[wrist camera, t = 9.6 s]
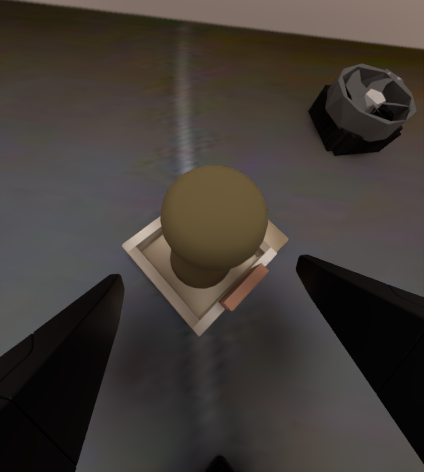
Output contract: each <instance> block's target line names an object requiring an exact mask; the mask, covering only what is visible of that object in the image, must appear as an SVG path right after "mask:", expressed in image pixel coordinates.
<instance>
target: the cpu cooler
mask: <svg viewBox="0 0 424 472" xmlns="http://www.w3.org/2000/svg"><path fill="white" fill-rule="evenodd" d="M403 81H404V80H402V79H401V78H399V77H398V76H396V75H395V74H393V73H392V72H390V71H389V70H388V69H385V70H382V69H379V68H375V67H372V66H369V65H365V64H359V65H356V66H352V67H348V68H345V69H343V70H342V72H341V73H340V74H339V76H338V77H337V78H336V80H335V81H334V82H333V84H332V85H325V87H324V89H323V90H322V91H321V93H320V94H319V96H318V97H317V99H316V100H315V102H314V103H313V105H312V107H311V108H310V110H309V111H308V112H309V113H310V114H311V118H312V119H313V122H314V124H315V126H316V128H317V130H318V132H319V134H320V136H321V140H322V141H323V143H324V145H325V148H326V149H327V151H332V150H333V152H334V155H335V156H337V155H345V154H346V155H347V154H358V153H368V152H376V151H378V152H379V151H380V150H381V149H383V148H384V147H385V146H387V145H388V144H389V143H391V142H392V141H393V140H394V139H396V138H397V137H398V136H400V135H401V133H400V131H401V130H402V128H403V127H402V126H401V125H402V124H403V123H404V122H405V121H406V120H407V119H408V118H410V117H411V116H412V115H413V114H414V113H415V112H416V107H415V103H414V99H413V96H412V93H411V92H410V91H409V90H408V88H407V87H406V86H405V85H404V83H403Z"/></svg>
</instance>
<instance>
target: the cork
mask: <svg viewBox="0 0 424 472" xmlns="http://www.w3.org/2000/svg"><path fill="white" fill-rule="evenodd" d="M160 222H161V226H162V231H163V235H164V238H165V240H166V242H167V243H168V245H169V247H170V248H171V254H170V262H171V267H172V270H173V272H174V273H175V275H176V277H177V278H178V279H179V280H180V281H181V282H183V283H184V284H185V285H187V286H190V287H193V288H199V289H206V288H210V287H213V286H216V285H217V284H218V283H220V282H221V281H223V280H224V278H225V277H226V276H227V274H228V273H229V271H230V269H232V268H235V267H237V266H239V265H241V264H242V263H244V262H245V261H247V260H248V259H249V258H251V257H252V256H253V255H254V254H255V253H256V251H257V250H258V248H259V247H260V246H261V244H262V242H263V240H264V237H265V234H266V230H267V226H268V212H267V207H266V204H265V201H264V199H263V196H262V194H261V191H260V190H259V189H258V188H257V186H256V185H255V184H254V183H253V181H252V180H251V179H249V178H248V177H246V176H245V175H244V174H242V173H241V172H239V171H237V170H234V169H231V168H229V167H226V166H217V165H209V166H203V167H197V168H195V169H193V170H191V171H189V172H187V173H185V174H183V175H182V176H181V177H180V178H178V179H177V180H176V181H175V182H174V183H173V184H172V185H171V186H170V188H169V190H168V192H167V194H166V196H165V197H164V199H163V203H162V210H161V217H160Z"/></svg>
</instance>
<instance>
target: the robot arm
mask: <svg viewBox="0 0 424 472" xmlns="http://www.w3.org/2000/svg"><path fill="white" fill-rule="evenodd" d="M296 272H297V274H298V276H299V278H300V280H301V281H302V283H303V285H304V287H305V289H306V290H307V292H308V294H309V296H310V297H311V299H312V300H313V302H314V303H315V305H316V306H317V308H318V309H319V311H320V312H321V314H322V315H323V317H324V318H325V320H326V321H327V323H328V324H329V325H330V327H331V328H332V330H333V331H334V333H335V334H336V336H337V337H338V339H339V340H340V342H341V343H342V345H343V346H344V347H345V349H346V350H347V352H348V353H349V355H350V356H351V358H352V359H353V361H354V362H355V364H356V365H357V367H358V368H359V369H360V371H361V372H362V374H363V375H364V377H365V378H366V380H367V381H368V383H369V384H370V386H371V387H372V389H373V390H374V391H375V393H376V394H377V396H378V398H379V399H380V400H381V402H382V403H383V405H384V406H385V408H386V409H387V411H388V412H389V414H390V415H391V417H392V418H393V420H394V421H395V422H396V424H397V425H398V427H399V428H400V430H401V431H402V433H403V434H404V436H405V437H406V439H407V440H408V442H409V443H410V445H411V446H412V447H413V449H414V450H415V452H416V453H417V455H418V456H419V458H420V459H421V461H422V462H423V464H424V297H422V296H419V295H416V294H413V293H410V292H407V291H405V290H402V289H399V288H396V287H394V286H391V285H387V284H385V283H383V282H380V281H377V280H375V279H372V278H369V277H367V276H364V275H361V274H359V273H356V272H353V271H350V270H348V269H345V268H342V267H340V266H337V265H334V264H332V263H329V262H326V261H324V260H321V259H318V258H315V257H313V256H310V255H300V256H299V258H298V262H297V266H296ZM123 297H124V285H123V281H122V278H121V275H120V274H111V275H109V276H107V277H106V278H105V279H103V280H102V281H101V282H99V283H98V284H97V285H95V286H94V287H93V288H91V289H90V290H89V291H87V292H86V293H85V294H84V295H82V296H81V297H80V298H78V299H77V300H76V301H74V302H73V303H72V304H70V305H69V306H68V307H66V308H65V309H64V310H62V311H61V312H60V313H58V314H57V315H56V316H54V317H53V318H52V319H50V320H49V321H48V322H46V323H45V324H44V325H42V326H41V327H40V328H38V329H37V330H36V331H34V334H30V335H29V336H28V337H26V338H25V339H24V340H22V341H21V342H20V343H18V344H17V345H16V346H14V347H13V348H12V349H10V350H9V351H8V352H6V353H5V354H3V355H2V356H1V357H0V472H75V471H76V466H77V463H78V460H79V457H80V453H81V450H82V446H83V443H84V440H85V436H86V433H87V430H88V426H89V423H90V419H91V416H92V413H93V409H94V406H95V403H96V399H97V396H98V392H99V389H100V386H101V382H102V379H103V376H104V372H105V369H106V365H107V362H108V359H109V355H110V352H111V349H112V345H113V342H114V339H115V335H116V332H117V328H118V325H119V320H120V315H121V309H122V303H123ZM221 464H222V465H223V466H222V468H221V469H218V468H217V467H218V466H219V465H221ZM206 472H235V471H234V470H233V468H232V467H231V466H230V465H229V463H228V462H227V461H226V459H225V458H224V457H223V456H217V457H216V458H215V459H214V461H213V462H212V464H211V465H210V466H209V468H208V469H207V470H206Z"/></svg>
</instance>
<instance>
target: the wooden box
mask: <svg viewBox="0 0 424 472" xmlns="http://www.w3.org/2000/svg"><path fill="white" fill-rule="evenodd" d="M160 217H161V216H160ZM160 217H159V218H157V219H156V220H155V221H153V222H152V223H151V224H149V225H148V226H147V227H145V228H144V229H143V230H141V231H140V232H139V233H137V234H136V235H135V236H133V237H132V238H131V239H129V240H128V241H126V242H125V243H124V244H122V247H123V248H124V249H125V250H126V252H127V253H128V254H129V255H130V257H131V258H132V259H133V260H134V261H135V262H136V264H137V265H138V266H139V267H140V268H141V270H142V271H143V272H144V273H145V274H146V275H147V277H148V278H149V279H150V280H151V281H152V282H153V284H154V285H155V286H156V287H157V288H158V290H159V291H160V292H161V293H162V294H163V295H164V297H165V298H166V299H167V300H168V301H169V303H170V304H171V305H172V306H173V307H174V308H175V310H176V311H177V312H178V313H179V314H180V315H181V317H182V318H183V319H184V320H185V321H186V323H187V324H188V325H189V326H190V327H191V328H192V330H193V331H194V332H195V333H196V334H197V335H198V336H199V337H200V336H201V334H202V333H203V332H204V331H205V330H206V329H207V328H208V327H209V326H210V325H211V324H212V323H213V322H214V321H215V320H216V318H217V317H218V316H219V315H220V314H221V313H222V312H223V311H224V310H225V309H226V310H229V311H233V310H234V309H235V308H236V307H237V306H238V305H239V303H240V302H241V301H242V300H243V299H244V298H245V297H246V296H247V295H248V294H249V293H250V291H251V290H252V289H253V288H254V287H255V286H256V285H257V284H258V283H259V282H260V281H261V279H262V278H263V277H264V276H265V275H266V274H267V273H268V272H269V270H268V269H267V268H266V267H265V266H266V265H267V264H268V263H269V262H270V261H271V260H272V259H273V258H274V257H275V255H276V254H277V253H276V252H277V251H278V250H279V249H280V248H281V247H282V246H283V245H284V244H285V243H286V242H287V241H288V240H289V239H288V238H287V237H286V236H285V235H284V234H283V233H282V232H281V231H280V230H279V229H278V228H276V227H275V226H274V225H273V224H272V223H271V222H270V221H269V220H268V226H267V230H266V234H265V237H264V240H263V242H262V244H261V246H260V247H259V248H258V250H257V251H256V253H255V254H254V255H253V256H252V257H251V258H249V259H248V260H247V261H245V262H244V263H242V264H241V265H239V266H237V267H235V268H232V269H230V271H229V273H228V274H227V276H226V277H225V278H224V280H223V281H221V282H220V283H218V284H217V285H216V286H213V287H210V288H206V289H199V288H193V287H190V286H187V285H185V284H184V283H183V282H181V281H180V280H179V279H178V278H177V277H176V275H175V273H174V272H173V270H172V267H171V262H170V254H171V248H170V247H169V245H168V243H167V242H166V240H165V238H164V235H163V231H162V226H161V222H160Z"/></svg>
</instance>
